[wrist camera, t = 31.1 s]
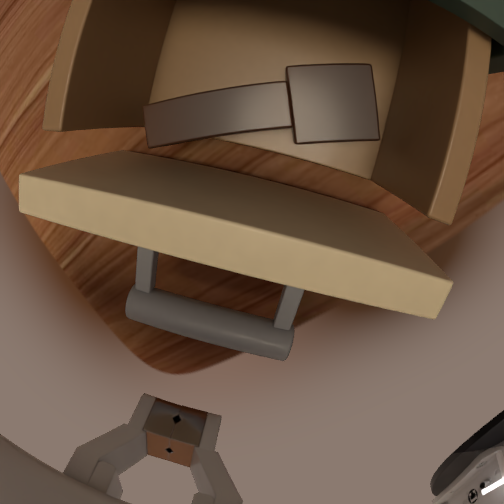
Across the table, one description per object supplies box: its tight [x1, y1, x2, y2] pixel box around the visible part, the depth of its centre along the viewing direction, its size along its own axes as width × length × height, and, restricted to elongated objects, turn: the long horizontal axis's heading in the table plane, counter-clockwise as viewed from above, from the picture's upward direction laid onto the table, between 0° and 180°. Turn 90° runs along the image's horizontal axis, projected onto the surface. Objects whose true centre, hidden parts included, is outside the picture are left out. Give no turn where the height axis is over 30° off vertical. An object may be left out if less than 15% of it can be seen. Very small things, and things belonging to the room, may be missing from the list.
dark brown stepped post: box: [142, 63, 380, 148], centre depth 10 cm, size 8×3×2 cm, turn 97°
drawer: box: [19, 0, 492, 361], centre depth 9 cm, size 17×12×7 cm
